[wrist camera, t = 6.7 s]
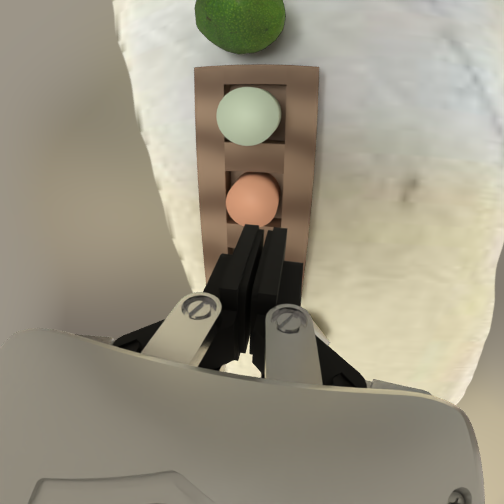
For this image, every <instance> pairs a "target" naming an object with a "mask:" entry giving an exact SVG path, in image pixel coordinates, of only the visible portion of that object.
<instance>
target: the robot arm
mask: <svg viewBox="0 0 504 504" xmlns="http://www.w3.org/2000/svg"><path fill="white" fill-rule="evenodd" d="M287 229H288V228H279V227H274V228H273V230H268V232H267V236H266V239H265V243H264V229H259V225H250V224H245V225H244V228H243V230H242V233H241V235H240V237H239V240H238V242H237V245H236V247H235V249H234V252H233V254H232V255H231V254H223V253H222V254H221V255H220V256H219V259H218V261H217V263H216V265H215V267H214V269H213V272H212V274H211V276H210V278H209V280H208V282H207V285H206V287H205V289H204V291H203V292H197V293H192V294H189V295H187V296H185V297H183V298H182V299H181V300H180V301H179V302H178V304H177V305H176V306H175V308H174V309H173V310H172V312H171V313H170V314H169V315H168V317H167V318H166V319H164V320H162V321H159V322H157V323H154V324H152V325H149V326H146V327H144V328H141V329H139V330H136V331H134V332H131V333H129V334H126V335H123V336H122V337H120V338H118V339H117V340H113V338H112V337H102V336H90V335H78V334H71V333H68V332H63V331H59V330H54V329H44V328H34V329H26V330H21V331H18V332H16V333H14V334H13V335H12V336H11V337H9V338H8V339H7V340H6V341H5V342H4V343H3V344H2V346H1V347H0V504H485V499H484V480H483V471H482V464H481V458H480V452H479V447H478V443H477V439H476V436H475V433H474V429H473V427H472V424H471V422H470V420H469V418H468V417H467V415H466V414H465V413H464V411H463V410H461V409H460V408H459V407H458V406H456V405H454V404H453V403H451V402H448V401H446V400H444V399H441V398H438V397H435V396H433V395H431V394H430V393H429V392H427V391H424V390H421V389H416V388H411V387H406V386H402V385H397V384H393V383H388V382H384V381H380V380H376V379H373V381H372V382H370V381H366V380H365V379H364V377H363V376H362V375H361V374H360V373H359V372H358V371H357V370H355V369H354V368H353V367H352V366H351V365H350V364H348V363H347V362H346V361H345V360H344V359H343V358H342V357H340V356H339V355H338V354H337V353H336V352H335V351H333V350H332V349H331V348H330V347H329V346H328V345H326V344H325V343H324V342H323V341H322V340H321V339H320V338H318V337H317V336H316V335H315V332H314V326H313V320H312V317H311V315H310V314H309V313H308V311H307V310H305V309H304V308H302V307H301V293H302V277H303V263H300V262H291V261H284V260H285V250H286V240H287ZM263 245H264V247H263ZM249 337H250V354H253V359H252V363H253V364H254V365H255V366H256V367H257V368H258V369H259V371H260V372H261V378H257V377H251V376H244V375H238V374H232V373H227V372H224V371H225V367H226V365H225V364H227V363H229V362H231V361H233V360H237V361H238V359H239V356H240V353H246V349H247V345H248V341H249Z"/></svg>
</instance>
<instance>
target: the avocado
mask: <svg viewBox="0 0 504 504" xmlns="http://www.w3.org/2000/svg"><path fill="white" fill-rule="evenodd" d="M195 17H196V25H197V27H198V29H199V30H200V31H201V32H202V34H203V35H204V36H205V37H206V38H207V39H208V40H210V41H211V42H212V43H213V44H215V45H217V46H218V47H220V48H222V49H223V50H225V51H228V52H232V53H236V54H246V53H254V52H258V51H260V50H262V49H265V48H266V47H267V46H269V45H270V44H271V43H272V42H274V41H275V40H276V39H277V37H278V36H279V34H280V33H281V31H282V30H283V27H284V22H285V17H286V16H285V9H284V4H283V0H196V4H195Z"/></svg>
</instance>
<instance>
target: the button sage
mask: <svg viewBox="0 0 504 504" xmlns="http://www.w3.org/2000/svg"><path fill="white" fill-rule="evenodd" d="M216 117H217V124H218V127H219V129H220V131H221V132H222V134H223V135H224V136H225V137H226V138H227V139H228V140H230V141H231V142H233V143H235V144H238V145H242V146H252V145H257V144H259V143H262V142H263V141H265V140H266V139H268V138H269V137H270V136H271V135H272V133H273V132H274V131H275V130H276V129H277V127H278V125H279V123H280V121H281V107H280V104H279V102H278V100H277V99H276V98H275V96H274V95H272V94H271V93H270V92H268V91H266V90H264V89H260V88H254V87H241V88H237V89H234V90H232V91H230V92H229V93H227V94H226V95H225V96H224V97H223V99H222V100H221V101H220V103H219V105H218V108H217V115H216Z"/></svg>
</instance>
